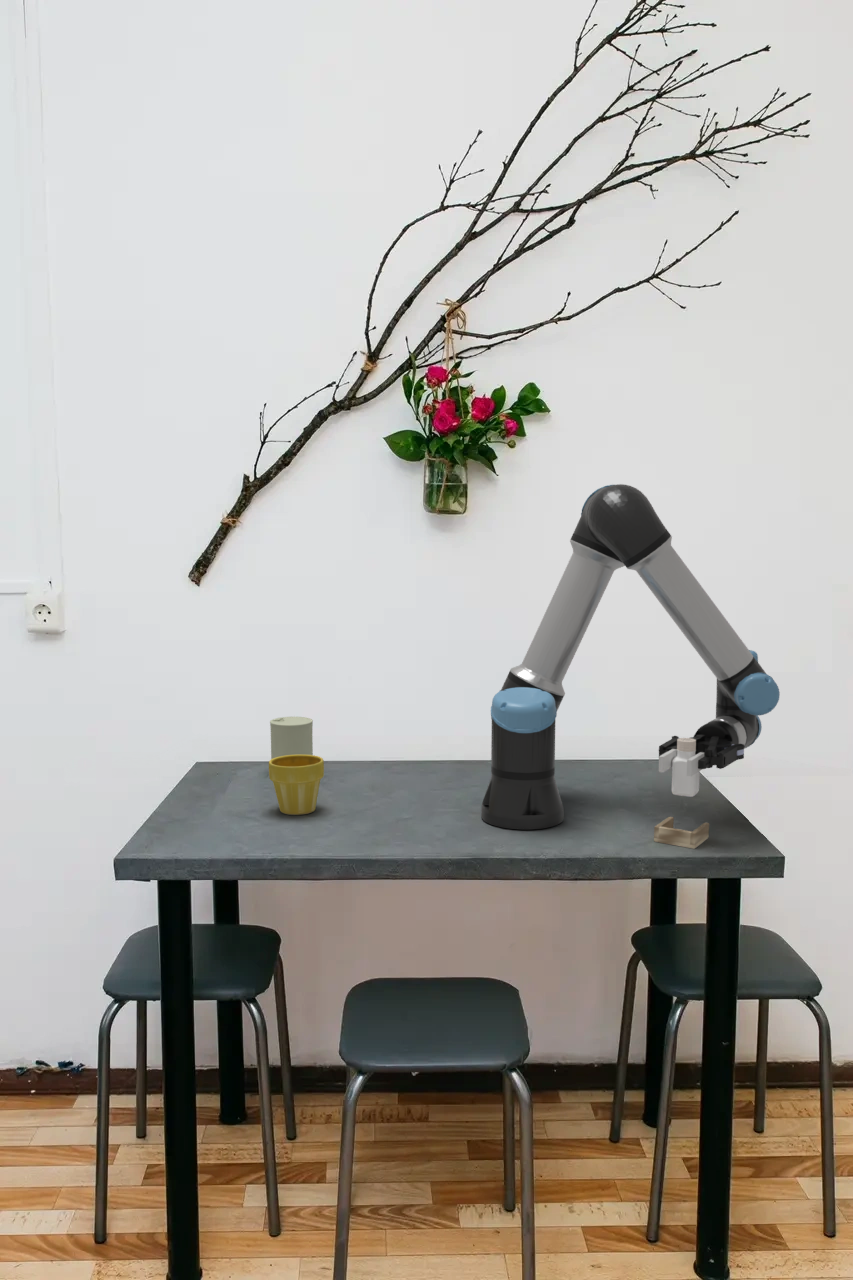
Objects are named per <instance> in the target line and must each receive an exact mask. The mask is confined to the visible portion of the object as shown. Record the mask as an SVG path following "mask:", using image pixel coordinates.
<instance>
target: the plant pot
mask: <svg viewBox="0 0 853 1280" xmlns="http://www.w3.org/2000/svg"><path fill="white" fill-rule="evenodd" d="M268 775H269V776H268V777H269V780H270V781H271V782H272V784H273V787H274V792H275V794H276V799H277V804H278V808H279V811H280V813H282V814H285V815H289V816H300V815H307V814H312V813H313V812H315V811H316V807H317V801H318V796H319V795H318V794H319V790H320V784H321V780H322V779H323V777H324V776H325V761H324V758H323V757H321V756H318V755H314V754H313V755H302V754H298V755H285V756H279V757H276V758H273V759H271V758H270V760H269V761H268Z"/></svg>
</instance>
